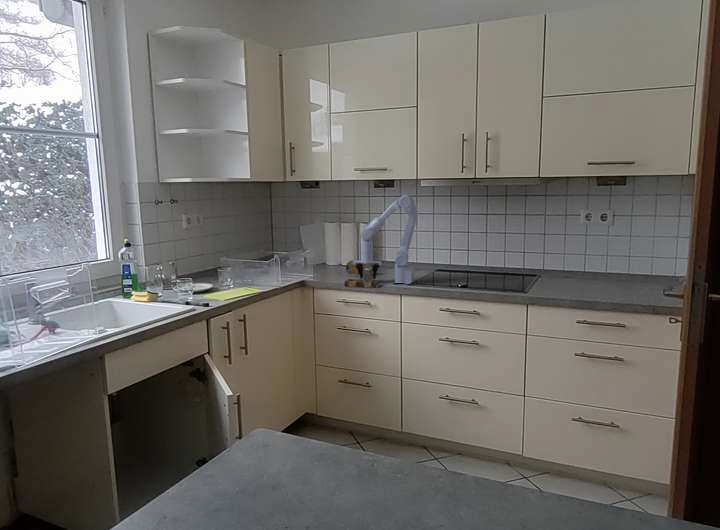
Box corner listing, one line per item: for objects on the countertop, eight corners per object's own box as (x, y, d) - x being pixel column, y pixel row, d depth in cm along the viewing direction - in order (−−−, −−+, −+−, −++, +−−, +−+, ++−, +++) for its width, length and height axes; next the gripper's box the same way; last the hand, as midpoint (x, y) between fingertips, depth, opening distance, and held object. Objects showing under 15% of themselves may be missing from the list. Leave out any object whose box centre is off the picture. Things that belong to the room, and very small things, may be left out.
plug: (372, 282, 265) (372, 268, 264) (370, 283, 262) (370, 269, 260) (365, 282, 266) (365, 267, 265) (363, 283, 263) (363, 269, 261)
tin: (346, 275, 285) (345, 260, 283) (347, 274, 288) (347, 259, 286) (372, 276, 281) (372, 260, 280) (374, 274, 284) (373, 259, 283)
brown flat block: (379, 284, 259) (379, 279, 258) (375, 288, 252) (375, 282, 251) (349, 283, 263) (348, 278, 263) (344, 286, 256) (344, 281, 256)
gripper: (351, 253, 259) (351, 279, 262) (379, 253, 255) (379, 280, 258) (355, 251, 266) (356, 277, 268) (382, 251, 262) (383, 277, 264)
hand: (367, 278), depth 263 cm, fingers open, 6 cm apart
